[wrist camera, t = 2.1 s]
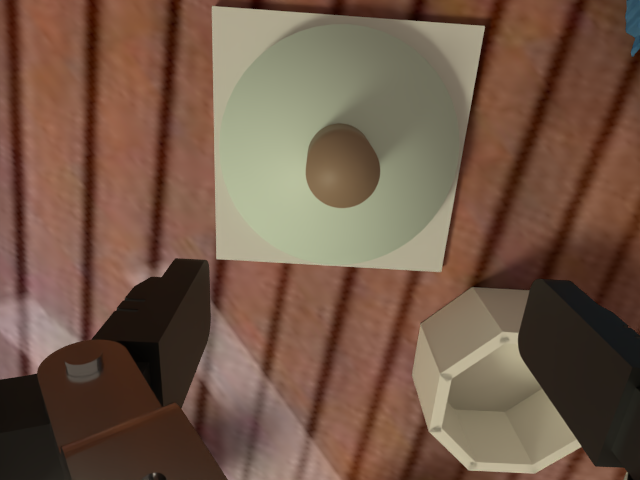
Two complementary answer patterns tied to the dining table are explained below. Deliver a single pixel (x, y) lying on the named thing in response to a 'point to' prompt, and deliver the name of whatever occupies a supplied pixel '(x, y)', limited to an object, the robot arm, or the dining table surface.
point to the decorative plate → (633, 23)
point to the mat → (272, 26)
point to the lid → (339, 144)
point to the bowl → (486, 386)
